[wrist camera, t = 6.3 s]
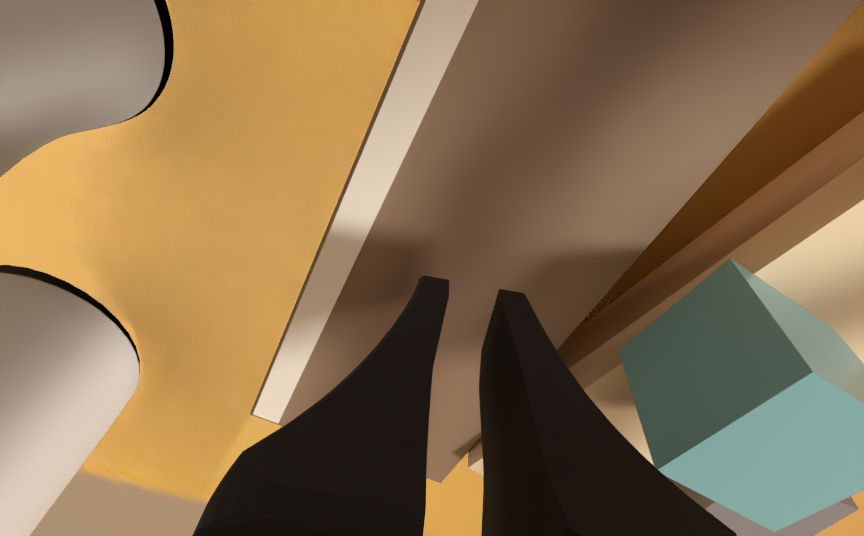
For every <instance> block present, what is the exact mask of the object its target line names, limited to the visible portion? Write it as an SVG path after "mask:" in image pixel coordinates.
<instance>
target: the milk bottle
mask: <svg viewBox="0 0 864 536" xmlns="http://www.w3.org/2000/svg"><path fill="white" fill-rule="evenodd" d="M139 374H140V358H139V355H138V352H137V348H136V346H135V344H134V342H133V340H132V339H131V337H130V335H129V333H128V332H127V330H126V329H125V328H124V327H123V325H122V324H121V323H120V321H119V320H118V319H117V318H116V317H115V316H114V315H113V314H112V313H111V312H110V311H109V310H108V309H107V308H106V307H105V306H104V305H102V304H101V303H99V302H98V301H97V300H95V299H94V298H92V297H91V296H90V295H89V294H87V293H86V292H84V291H82V290H80V289H78V288H77V287H75V286H73V285H72V284H70V283H68V282H66V281H64V280H61V279H59V278H56V277H54V276H52V275H50V274H47V273H44V272H40V271H36V270H33V269H30V268H26V267H18V266H11V265H0V536H30V534H31V533H32V532H33V530H34V529H35V528H36V526H37V525H38V524H39V522H40V521H41V520H42V518H43V517H44V515H45V514H46V513H47V512H48V510H49V509H50V507H51V506H52V505H53V503H54V502H55V501H56V499H57V498H58V496H59V495H60V494H61V492H62V491H63V489H65V487H66V486H67V484H68V483H69V482H70V480H71V479H72V478H73V476H74V475H75V474H76V472H77V471H78V470H79V468H80V467H81V466H82V464H83V463H84V461H85V460H86V459H87V457H88V456H89V455H90V453H91V452H92V451H93V449H94V448H95V446H96V445H97V444H98V442H99V441H100V440H101V438H102V437H103V436H104V434H105V433H106V431H107V430H108V429H109V427H110V426H111V425H112V423H113V422H114V421H115V419H116V418H117V416H118V415H119V414H120V412H121V411H122V409H123V408H124V406H125V405H126V403H127V402H128V401H129V399H130V398H131V396H132V395H133V393H134V392H135V390H136V387H137V384H138V380H139Z"/></svg>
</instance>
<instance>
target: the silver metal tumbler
mask: <svg viewBox="0 0 864 536" xmlns="http://www.w3.org/2000/svg"><path fill="white" fill-rule="evenodd" d="M173 55H174V39H173V29H172V23H171V18H170V13H169V10H168V6H167V3H166V0H0V177H1V176H2V175H4V174H5V173H6V172H7V171H8V170H10V169H11V168H12V167H13V166H14V165H16V164H17V163H18V162H19V161H20V160H22V159H23V158H25V157H26V156H28V155H29V154H31V153H32V152H34V151H36V150H37V149H39V148H40V147H42V146H43V145H45V144H47V143H49V142H51V141H53V140H55V139H58V138H60V137H62V136H65V135H69V134H73V133H78V132H83V131H87V130H92V129H97V128H102V127H106V126H110V125H115V124H118V123H121V122H124V121H127V120H130V119H132V118H134V117H136V116H138V115H140V114H142V113H143V112H145V111H146V110H147V109H148V108H150V107H151V106H152V105H153V104H154V103H155V101H156V100H157V99H158V97H159V96H160V95H161V93H162V92H163V90H164V88H165V86H166V84H167V81H168V79H169V76H170V72H171V68H172V63H173Z"/></svg>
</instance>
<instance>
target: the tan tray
mask: <svg viewBox="0 0 864 536" xmlns="http://www.w3.org/2000/svg"><path fill="white" fill-rule="evenodd" d="M729 258H731V259H732V260H734V261H735V262H737V263H738V264H740V265H741V266H743V267H744V268H745V269H747V270H748V271H750V272H751V273H753V274H754V275H756V276H757V277H759V278H760V279H762V280H763V281H765V282H766V283H768V284H769V285H771V286H772V287H774V288H775V289H776V290H778V291H779V292H781V293H782V294H784V295H785V296H787V297H788V298H790V299H791V300H793V301H794V302H796V303H797V304H799V305H800V306H802V307H803V308H804V309H806V310H807V311H809V312H810V313H812V314H813V315H815V316H816V317H818V318H819V319H821V320H822V321H824V322H825V323H827V324H828V325H830V326H831V327H833V328H834V330H835V331H836V332H837V333H838V334H839V335H840V336H841V338H842V339H843V340H844V341H845V342H846V343H847V345H848V346H849V347H850V348H851V349H852V350H853V352H854V353H855V354H856V355H857V356H858V357H859V359H860V360H861V361H862V362H863V363H864V111H863V112H861V113H860V114H859V115H858V116H856V117H855V118H854V119H852V120H851V121H850V122H848V123H847V124H846V125H844V126H843V127H842V128H840V129H839V130H838V131H836V132H835V133H834V134H833V135H831V136H830V137H829V138H827V139H826V140H825V141H823V142H822V143H821V144H819V145H818V146H817V147H815V148H814V149H813V150H811V151H810V152H809V153H808V154H806V155H805V156H804V157H802V158H801V159H800V160H798V161H797V162H796V163H794V164H793V165H792V166H790V167H789V168H788V169H786V170H785V171H784V172H783V173H781V174H780V175H779V176H777V177H776V178H775V179H773V180H772V181H771V182H769V183H768V184H767V185H765V186H764V187H763V188H762V189H760V190H759V191H758V192H756V193H755V194H754V195H752V196H751V197H750V198H748V199H747V200H746V201H744V202H743V203H742V204H740V205H739V206H738V207H737V208H735V209H734V210H733V211H731V212H730V213H729V214H727V215H726V216H725V217H723V218H722V219H721V220H719V221H718V222H717V223H715V224H714V225H713V226H712V227H710V228H709V229H708V230H706V231H705V232H704V233H702V234H701V235H700V236H698V237H697V238H696V239H694V240H693V241H692V242H690V243H689V244H688V245H687V246H685V247H684V248H683V249H681V250H680V251H679V252H677V253H676V254H675V255H673V256H672V257H671V258H669V259H668V260H667V261H666V262H664V263H663V264H662V265H660V266H659V267H658V268H656V269H655V270H654V271H652V272H651V273H650V274H648V275H647V276H646V277H644V278H643V279H642V280H641V281H639V282H638V283H637V284H635V285H634V286H633V287H631V288H630V289H629V290H627V291H626V292H625V293H623V294H622V295H621V296H619V297H618V298H617V299H616V300H614V301H613V302H612V303H610V304H609V305H608V306H606V307H605V308H604V309H602V310H601V311H600V312H598V313H597V314H596V315H594V316H593V317H592V318H591V319H589V320H588V321H587V322H585V323H584V324H583V325H581V326H580V327H579V328H577V329H576V330H575V331H573V332H572V333H571V335H570V336H569V337H568V338H567V339H566V340H565V341H564V343H563V344H562V345H561V346H560V347H559V348H558V349H557V351H558V353H559V355H560V356H561V358H562V359H563V361H564V362H565V364H566V365H567V367H568V368H569V370H570V371H571V373H572V374H573V376H574V377H575V379H576V380H577V381H578V383H579V384H580V386H581V387H582V388H583V390H584V391H585V392H586V393H587V395H588V396H589V397H590V399H591V400H592V401H593V402H594V403H595V405H596V406H597V407H598V408H599V409H600V410H601V412H602V413H603V414H604V415H605V416H606V418H607V419H608V420H609V421H610V422H611V423H612V424H613V425H614V426H615V428H616V429H617V430H618V431H619V432H620V433H621V434H622V435H623V436H624V437H625V438H626V439H627V440H628V441H629V442H630V443H631V444H632V445H633V446H634V447H635V448H636V449H637V450H638V451H639V452H640V453H641V454H642V455H643V456H644V457H645V458H646V459H647V460H648V461H649V462H650V463H651V464H652V465H653V466H654V464H653V461H652V458H651V454H650V451H649V448H648V445H647V442H646V438H645V435H644V432H643V429H642V426H641V422H640V419H639V416H638V413H637V410H636V406H635V403H634V400H633V397H632V394H631V390H630V387H629V384H628V381H627V378H626V374H625V371H624V368H623V365H622V362H621V358H620V355H619V352H618V351H619V350H620V349H621V348H622V347H623V346H625V345H626V344H627V343H628V342H629V341H631V340H632V339H633V338H634V337H635V336H637V335H638V334H639V333H640V332H641V331H643V330H644V329H645V328H646V327H647V326H649V325H650V324H651V323H652V322H653V321H655V320H656V319H657V318H658V317H659V316H661V315H662V314H663V313H664V312H665V311H667V310H668V309H669V308H670V307H671V306H673V305H674V304H675V303H676V302H677V301H679V300H680V299H681V298H682V297H683V296H685V295H686V294H687V293H688V292H689V291H691V290H692V289H693V288H694V287H695V286H697V285H698V284H699V283H700V282H701V281H703V280H704V279H705V278H706V277H707V276H709V275H710V274H711V273H712V272H713V271H715V270H716V269H717V268H718V267H719V266H721V265H722V264H723V263H724V262H725V261H727V260H728V259H729ZM468 468H469V469H471V470H473V471H475V472H477V473H478V474H480V475H482V476H484V474H483V453H482V436H481V437H480V439H479V440H478V441H477V442H476V443H475V444H474V445H473V447H472V448H471V449H470V450H469V454H468Z"/></svg>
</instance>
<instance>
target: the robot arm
mask: <svg viewBox="0 0 864 536" xmlns="http://www.w3.org/2000/svg"><path fill="white" fill-rule="evenodd" d="M448 299H449V280H447V279H442V278H436V277H430V276H425V275H424V276H423V277H421V278H419V281H418V284H417V286H416V289H415V291H414V293H413V295H412V297H411V298H410V300H409V302H408V303H407V305H406V307H405V308H404V310H403V311H402V313H401V314H400V316H399V317H398V319H397V320H396V322H395V323H394V324H393V326H392V327H391V328H390V330H389V331H388V332H387V333H386V335H385V336H384V337H383V338H382V340H381V341H380V342H379V343H378V344H377V346H376V347H375V348H374V349H373V350H372V351H371V353H370V354H369V355H368V356H367V357H366V358H365V359H364V360H363V361H362V362H361V363H360V364H359V365H358V366H357V367H356V368H355V369H354V370H353V371H352V372H351V373H350V374H349V375H348V376H347V377H346V378H345V379H344V380H342V381H341V382H340V383H339V384H338V385H337V386H336V387H335V388H334V389H332V390H331V391H330V392H329V393H328V394H326V395H325V396H324V397H323V398H322V399H320V400H319V401H318V402H316V403H315V404H314V405H312V406H311V407H310V408H308V409H307V410H306V411H304V412H303V413H301V414H300V415H299V416H297V417H296V418H295V419H293V420H292V421H291V422H289V423H288V424H286V425H285V426H283V427H282V428H280V429H279V430H277V431H275V432H274V433H272V434H270V435H269V436H267V437H266V438H264V439H262V440H261V441H259V442H257V443H256V444H254V445H253V446H251V447H249V448H248V449H246V450H244V451H243V452H242V453H241V454H240V456H239V457H238V458H237V460H236V461H235V462H234V464H233V465H232V466H231V468H230V469H229V470H228V472H227V473H226V475H225V476H224V478H223V479H222V481H221V482H220V484H219V485H218V487H217V489H216V490H215V492H214V493H213V495H212V496H211V498H210V500H209V502H208V504H207V506H206V508H205V510H204V512H203V514H202V516H201V519H200V521H199V523H198V525H197V527H196V529H195V531H194V533H193V536H423V529H424V519H425V506H426V470H427V446H428V428H429V413H430V399H431V386H432V374H433V366H434V361H435V357H436V352H437V348H438V343H439V339H440V334H441V330H442V325H443V321H444V316H445V312H446V307H447V303H448ZM479 400H480V419H481V436H482V453H483V474H484V493H483V516H482V536H737V534H736V533H735V532H734V531H732V530H731V529H730V528H729V527H727V526H726V525H725V524H723V523H722V522H721V521H720V520H718V519H717V518H716V517H714V516H713V515H712V514H711V513H709V512H708V511H707V510H705V509H704V508H703V507H702V506H700V505H699V504H698V503H696V502H695V501H694V500H693V499H691V498H690V497H689V496H688V495H686V494H685V493H684V492H683V491H682V490H680V489H679V488H678V487H677V486H676V485H675V484H674V483H672V482H671V481H670V480H669V479H668V478H667V477H666V476H665V475H663V474H662V473H661V472H660V471H659V470H658V469H657V468H656V467H654V466H653V465H652V464H651V463H650V462H649V461H648V460H647V459H646V458H645V457H644V456H643V455H642V454H641V453H640V452H639V451H638V450H637V449H636V448H635V447H634V446H633V445H632V444H631V443H630V442H629V441H628V440H627V439H626V438H625V437H624V436H623V435H622V434H621V433H620V432H619V431H618V430H617V429H616V428H615V426H614V425H613V424H612V423H611V422H610V421H609V420H608V419H607V418H606V416H605V415H604V414H603V413H602V412H601V410H600V409H599V408H598V407H597V406H596V405H595V403H594V402H593V401H592V400H591V399H590V397H589V396H588V395H587V393H586V392H585V391H584V390H583V388H582V387H581V386H580V384H579V383H578V381H577V380H576V379H575V377H574V376H573V374H572V373H571V371H570V370H569V368H568V367H567V365H566V364H565V362H564V361H563V359H562V358H561V356H560V355H559V353H558V351H557V350H556V348H555V347H554V345H553V343H552V342H551V340H550V338H549V337H548V335H547V333H546V332H545V330H544V328H543V326H542V324H541V323H540V321H539V319H538V317H537V315H536V313H535V312H534V310H533V308H532V306H531V304H530V302H529V300H528V298H527V297H526V295H525V294H524V293H521V292H515V291H509V290H504V289H499V291H498V295H497V298H496V301H495V305H494V308H493V312H492V315H491V319H490V322H489V325H488V329H487V332H486V336H485V339H484V342H483V346H482V349H481V361H480V375H479Z"/></svg>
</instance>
